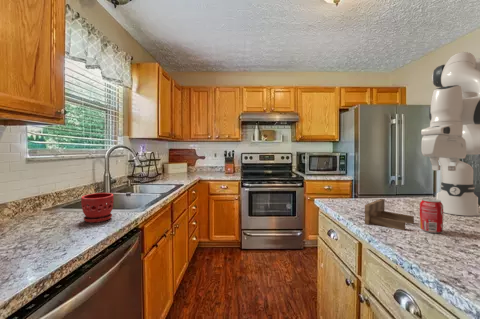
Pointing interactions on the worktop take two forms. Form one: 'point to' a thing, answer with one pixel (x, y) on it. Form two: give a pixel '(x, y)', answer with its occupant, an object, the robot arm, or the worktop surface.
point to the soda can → (431, 215)
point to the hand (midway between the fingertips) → (444, 170)
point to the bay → (385, 216)
